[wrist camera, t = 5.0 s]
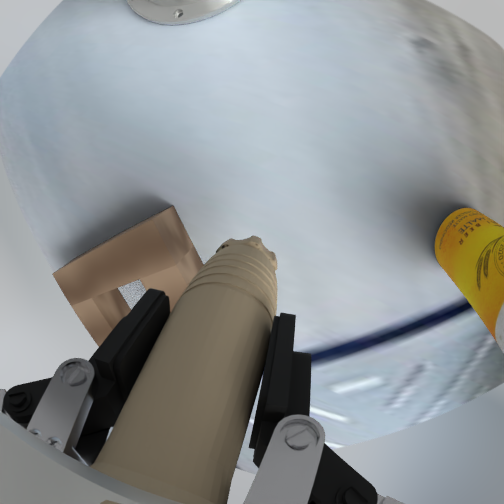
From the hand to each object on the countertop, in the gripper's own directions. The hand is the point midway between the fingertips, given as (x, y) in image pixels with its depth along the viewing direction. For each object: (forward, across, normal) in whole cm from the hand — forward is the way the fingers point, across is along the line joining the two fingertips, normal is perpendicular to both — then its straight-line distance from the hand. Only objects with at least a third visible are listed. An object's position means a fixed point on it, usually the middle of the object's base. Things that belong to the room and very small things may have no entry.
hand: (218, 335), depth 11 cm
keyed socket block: (+15, +10, +11) cm, 21 cm away
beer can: (+15, -18, -1) cm, 23 cm away
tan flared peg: (+6, 0, 0) cm, 6 cm away
